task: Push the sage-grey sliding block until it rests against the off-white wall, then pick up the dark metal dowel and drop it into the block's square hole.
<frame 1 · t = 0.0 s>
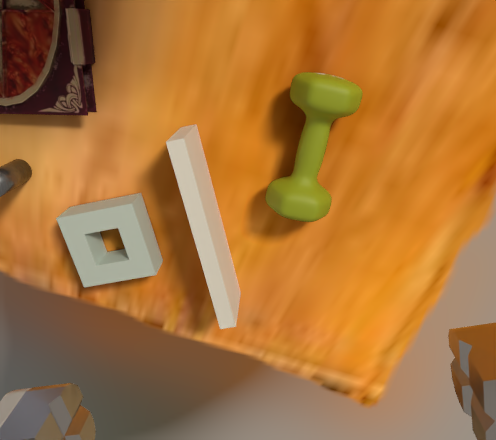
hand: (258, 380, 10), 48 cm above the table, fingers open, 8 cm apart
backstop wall: (212, 215, 61), on the table
dowel: (20, 170, 60), on the table
sliding block: (112, 240, 60), point 2 cm above the table, slide at 7.0 cm
dumbbell: (309, 141, 57), on the table
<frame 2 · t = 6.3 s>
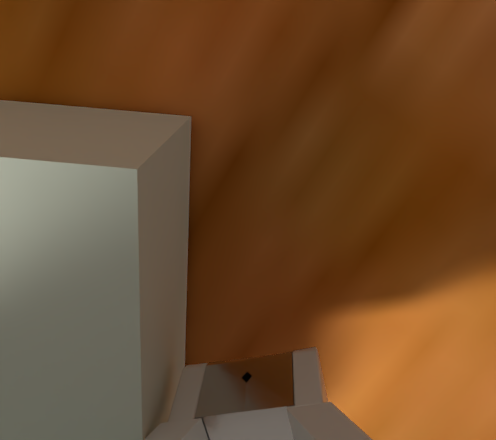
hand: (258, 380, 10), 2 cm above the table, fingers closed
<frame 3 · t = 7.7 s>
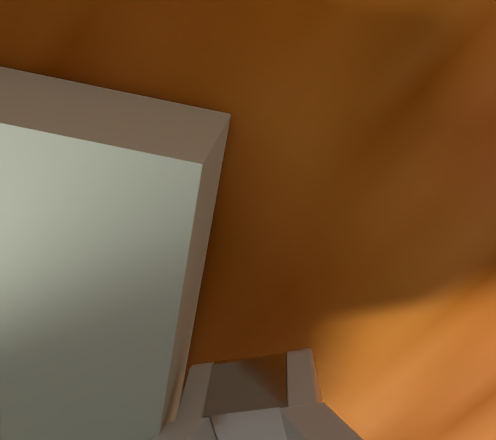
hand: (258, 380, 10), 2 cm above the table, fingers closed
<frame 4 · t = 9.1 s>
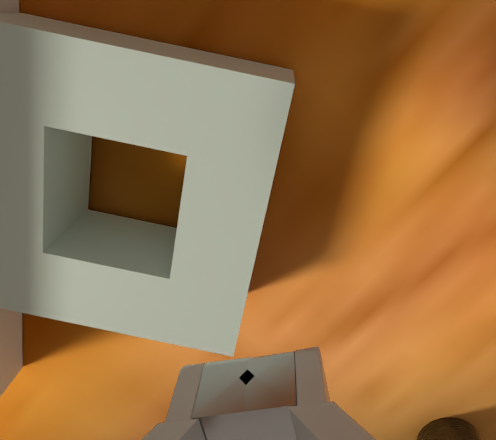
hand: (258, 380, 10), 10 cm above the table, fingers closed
sliding block: (129, 186, 17), point 2 cm above the table, slide at 0.0 cm
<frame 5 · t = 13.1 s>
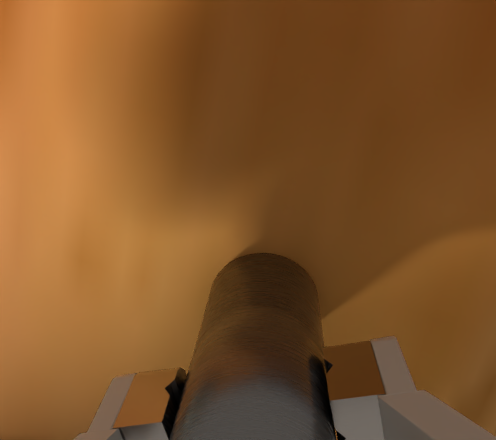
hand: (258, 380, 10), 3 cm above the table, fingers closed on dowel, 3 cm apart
dowel: (263, 301, 13), on the table, touching gripper
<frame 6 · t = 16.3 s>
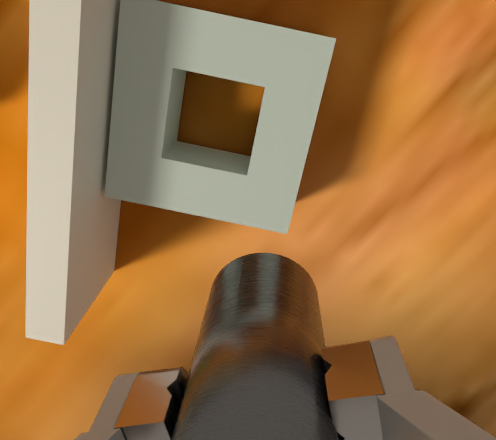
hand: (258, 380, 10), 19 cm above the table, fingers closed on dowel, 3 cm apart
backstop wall: (114, 88, 27), on the table
dowel: (263, 301, 13), point 16 cm above the table, touching gripper
sliding block: (216, 116, 25), point 2 cm above the table, slide at 0.0 cm
when the fingers open (5 cm above the table, at t = 19.6 s): dowel drops 2 cm, resting in sliding block.
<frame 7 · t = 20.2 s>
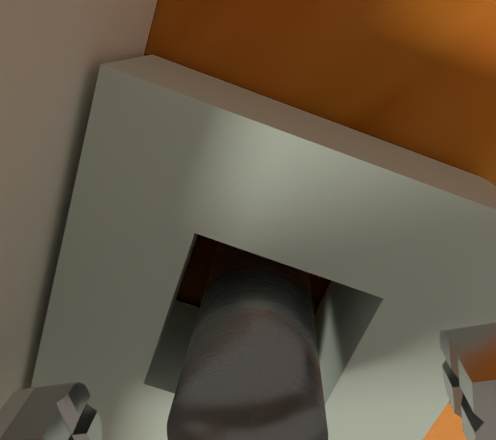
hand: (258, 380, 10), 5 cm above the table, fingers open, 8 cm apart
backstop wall: (74, 198, 15), on the table
dowel: (260, 262, 15), resting in sliding block
sliding block: (259, 299, 13), point 2 cm above the table, slide at 0.0 cm
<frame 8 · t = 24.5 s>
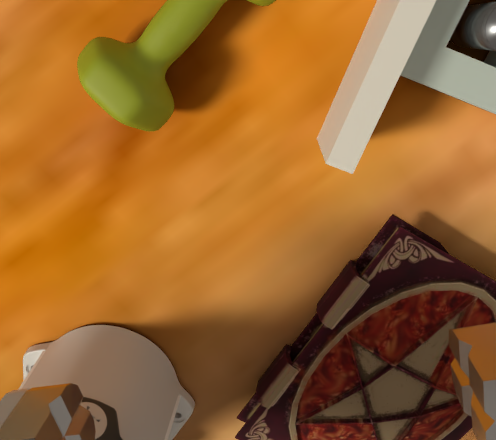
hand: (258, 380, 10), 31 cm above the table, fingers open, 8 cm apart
dowel: (468, 26, 35), resting in sliding block
sliding block: (480, 26, 33), point 2 cm above the table, slide at 0.0 cm
dumbbell: (190, 22, 37), on the table
book: (385, 365, 48), on the table
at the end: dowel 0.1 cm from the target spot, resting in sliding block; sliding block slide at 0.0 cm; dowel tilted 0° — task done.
